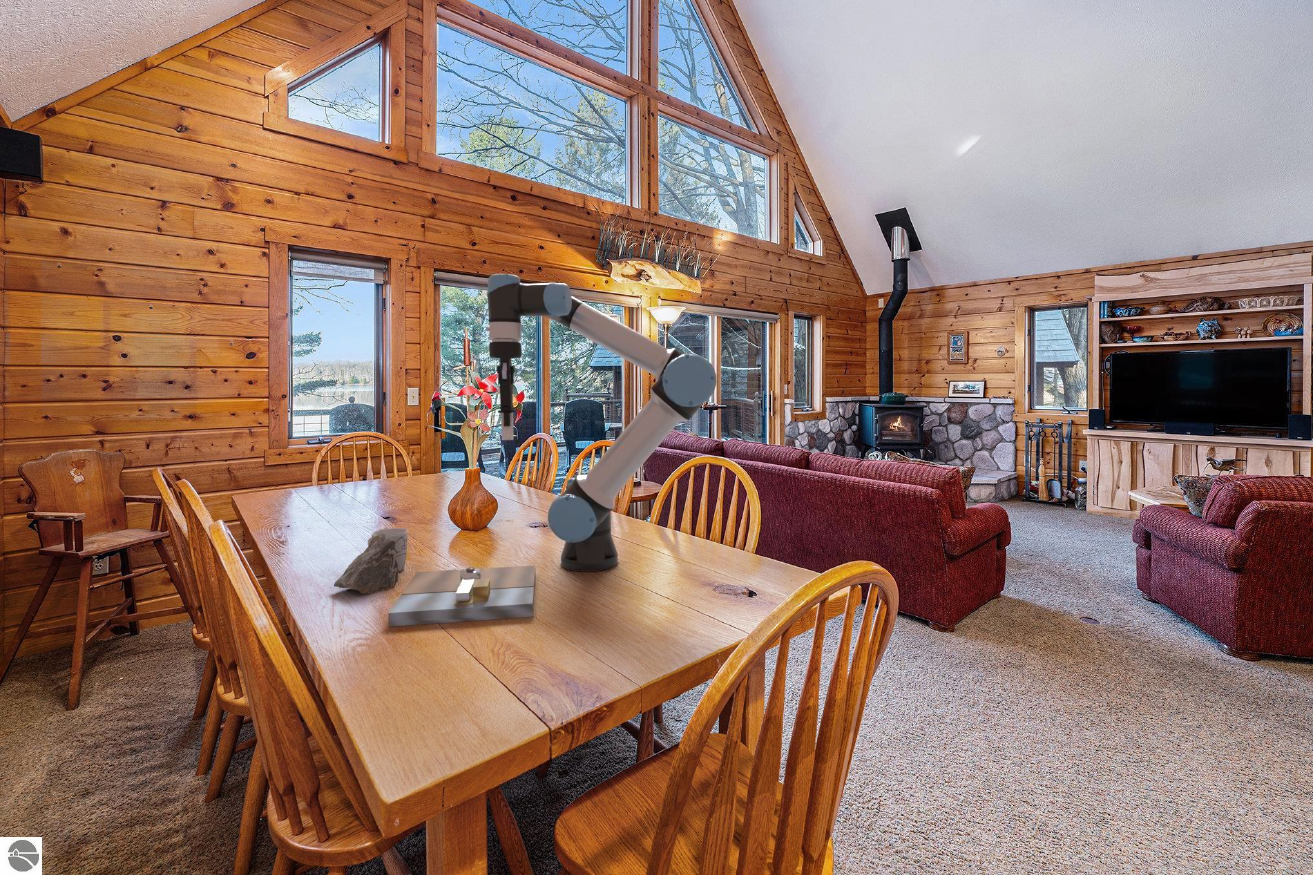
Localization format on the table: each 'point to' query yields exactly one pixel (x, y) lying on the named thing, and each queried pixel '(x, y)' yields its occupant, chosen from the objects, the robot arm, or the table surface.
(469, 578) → the latch bar
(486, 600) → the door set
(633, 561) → the table surface
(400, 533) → the mug
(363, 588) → the rock
